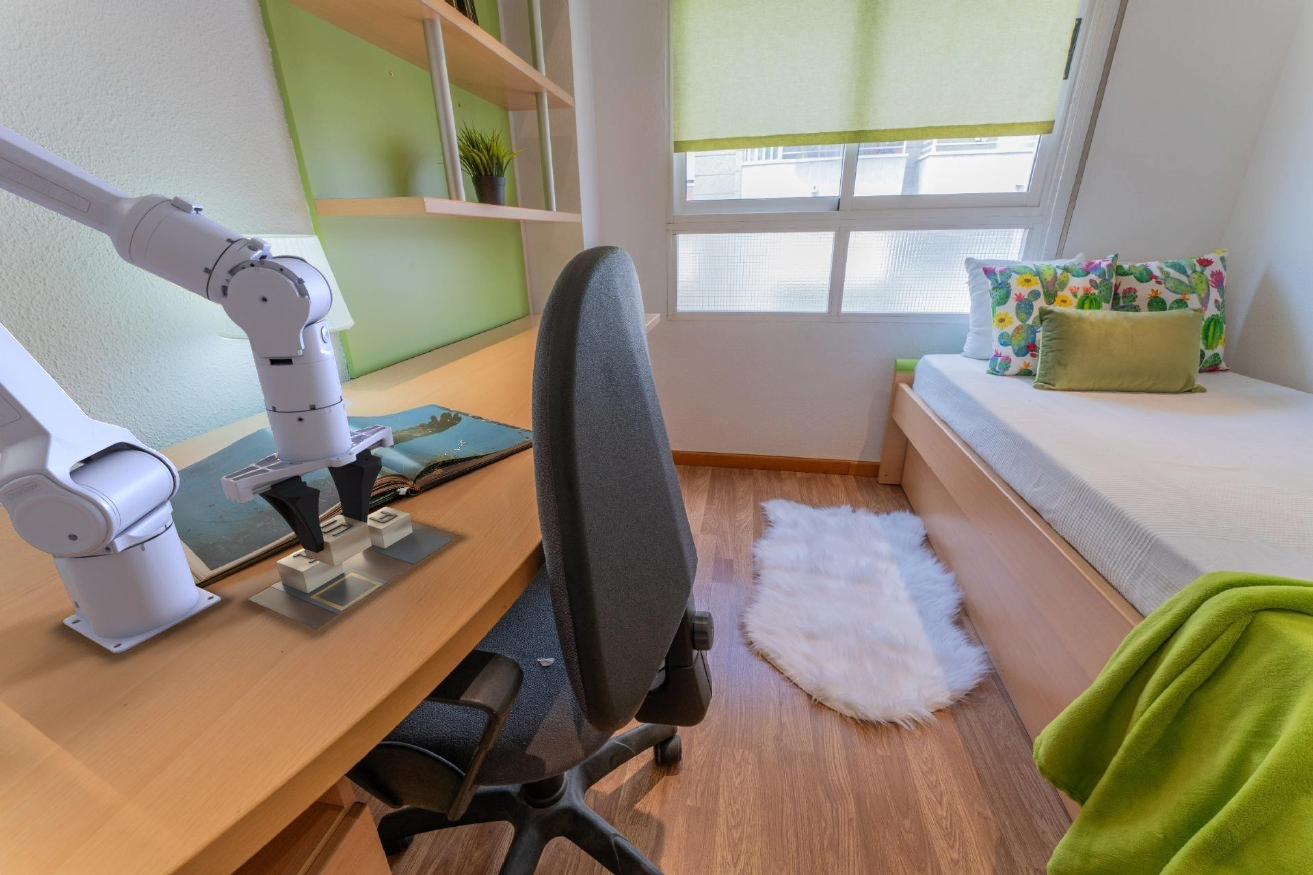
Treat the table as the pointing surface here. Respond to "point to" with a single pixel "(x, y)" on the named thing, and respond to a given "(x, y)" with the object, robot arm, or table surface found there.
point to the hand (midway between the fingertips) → (335, 537)
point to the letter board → (354, 578)
